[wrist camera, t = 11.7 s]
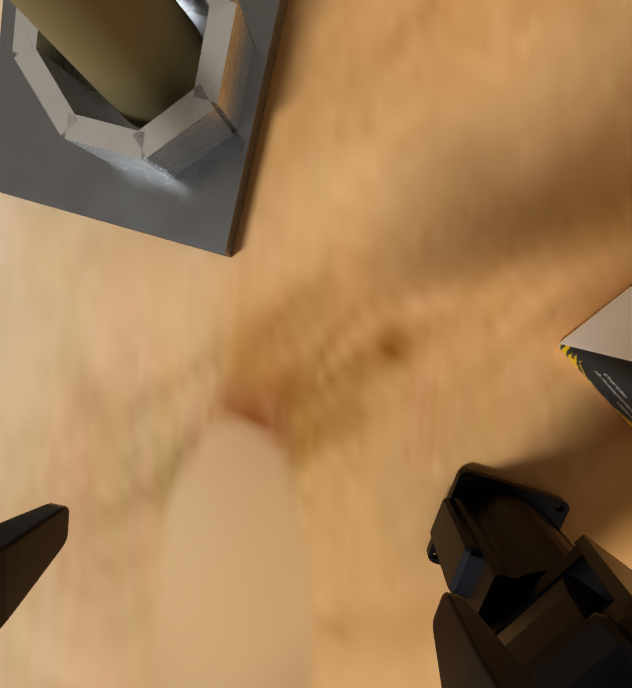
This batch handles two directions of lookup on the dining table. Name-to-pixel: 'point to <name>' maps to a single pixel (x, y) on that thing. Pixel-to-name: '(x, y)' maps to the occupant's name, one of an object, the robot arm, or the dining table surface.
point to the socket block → (141, 130)
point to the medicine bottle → (606, 352)
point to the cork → (124, 49)
